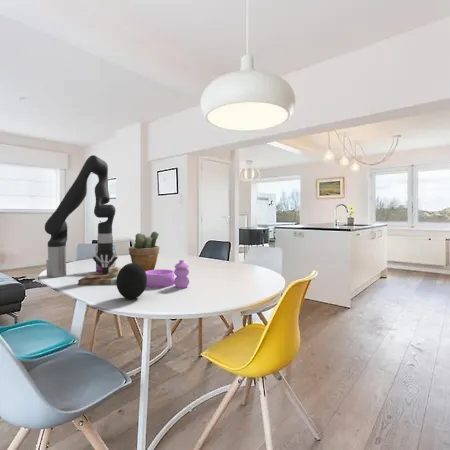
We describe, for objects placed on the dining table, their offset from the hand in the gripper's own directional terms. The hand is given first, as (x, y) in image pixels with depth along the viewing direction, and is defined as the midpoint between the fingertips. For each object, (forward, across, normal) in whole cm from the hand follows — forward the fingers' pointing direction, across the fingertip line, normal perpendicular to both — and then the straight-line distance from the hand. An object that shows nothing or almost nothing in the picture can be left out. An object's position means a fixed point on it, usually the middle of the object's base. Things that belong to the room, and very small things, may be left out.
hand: (105, 274), depth 162 cm
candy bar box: (+4, -8, +27) cm, 29 cm away
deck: (+4, +1, 0) cm, 4 cm away
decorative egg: (+4, +22, -36) cm, 42 cm away
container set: (+4, +34, -12) cm, 36 cm away
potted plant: (+4, +16, +24) cm, 29 cm away
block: (+1, +5, 0) cm, 5 cm away
